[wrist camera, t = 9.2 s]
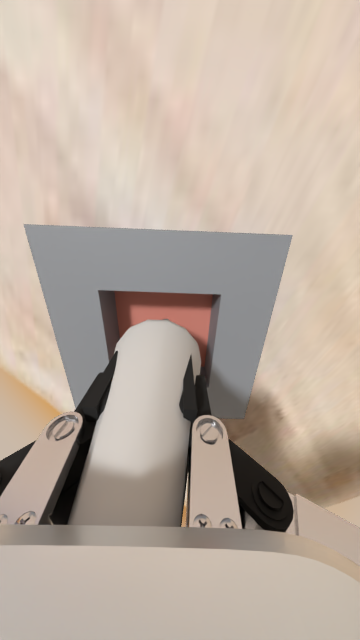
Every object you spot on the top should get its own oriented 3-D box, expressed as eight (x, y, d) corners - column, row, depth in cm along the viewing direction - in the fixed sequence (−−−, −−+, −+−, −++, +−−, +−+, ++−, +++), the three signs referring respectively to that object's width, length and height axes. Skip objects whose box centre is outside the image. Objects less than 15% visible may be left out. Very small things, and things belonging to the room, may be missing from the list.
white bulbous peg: (186, 376, 15) (208, 836, 3) (121, 363, 15) (-122, 857, 3) (206, 317, 13) (476, 1047, 1) (131, 299, 13) (-809, 1350, 1)
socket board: (269, 237, 13) (292, 235, 10) (235, 394, 20) (243, 419, 17) (56, 228, 13) (23, 224, 10) (92, 390, 19) (77, 414, 17)
